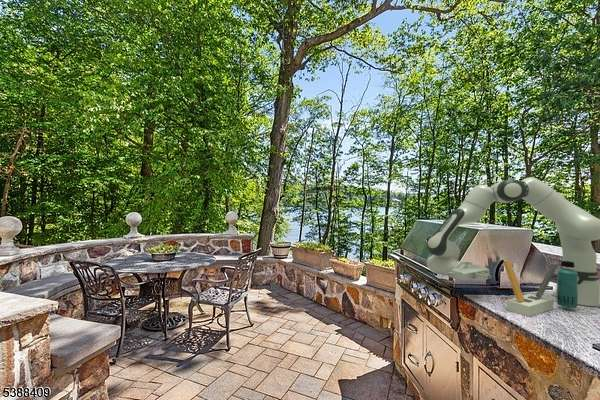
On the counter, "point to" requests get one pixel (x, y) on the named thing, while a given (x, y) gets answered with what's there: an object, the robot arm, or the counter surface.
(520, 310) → the cream base with pads
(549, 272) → the bar
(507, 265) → the orange bar
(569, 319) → the counter surface
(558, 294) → the beverage bottle
